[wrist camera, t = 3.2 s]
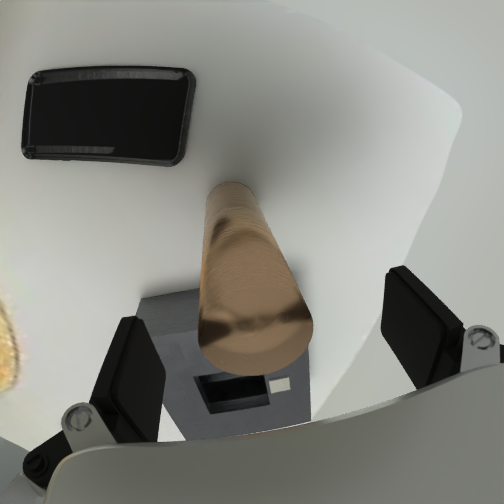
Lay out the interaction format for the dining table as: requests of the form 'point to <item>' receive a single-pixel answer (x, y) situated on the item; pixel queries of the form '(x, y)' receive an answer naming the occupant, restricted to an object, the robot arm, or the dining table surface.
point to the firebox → (218, 378)
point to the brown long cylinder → (247, 290)
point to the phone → (108, 114)
